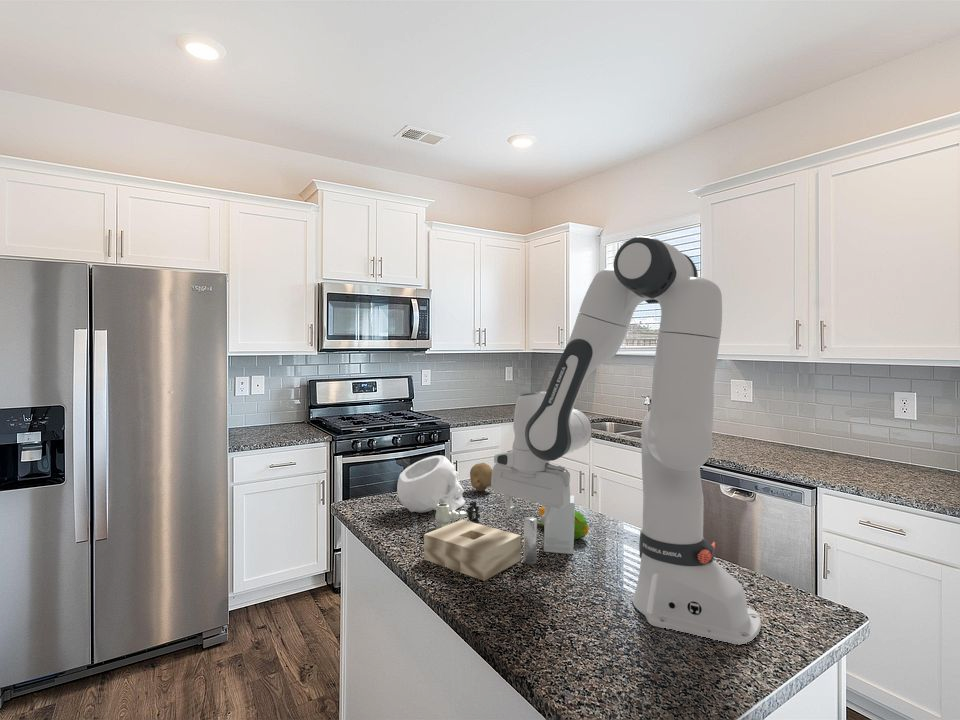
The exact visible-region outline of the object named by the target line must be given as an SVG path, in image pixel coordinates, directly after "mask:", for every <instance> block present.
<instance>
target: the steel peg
mask: <svg viewBox="0 0 960 720" xmlns="http://www.w3.org/2000/svg"><path fill="white" fill-rule="evenodd" d="M537 531H538V519H537V518H535V517H532V516H527V517H524V519H523V563H524V564H526V565H534V564H537V555H538V554H537V550H538V549H537V543H538V541H537V540H538V539H537V538H538V536H537V535H538V532H537Z"/></svg>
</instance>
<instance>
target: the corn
mask: <svg viewBox="0 0 960 720" xmlns="http://www.w3.org/2000/svg"><path fill="white" fill-rule="evenodd" d="M538 513H539V515H540V517H541V516H542V515H544V514H545V505H544V506H543V505H542V507H540V508H539V509H538ZM537 523H539V524H541V525H542V526H543V527H544V524H543V523H541V519H540V520H539V519H537ZM589 529H590V527H589V525H588V521H587V519H586V517H585V516H584V514H583V513H581V512H580V511H578V510H576V509H575V516H574V540H577V539H582V538H585V537H586V536H587V534H588V533H589Z"/></svg>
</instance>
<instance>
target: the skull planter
mask: <svg viewBox="0 0 960 720" xmlns="http://www.w3.org/2000/svg"><path fill="white" fill-rule="evenodd" d="M455 468H456V466H455V464H453V463H452V462H451V461H450V459H448V458H447V457H446V456H445V455H440V454H439V455H437V454H436V455H432V456H428V457H425V458H423V459H420V460H418V461H416V462H414V463H412V464H410V465H408V466H407V467H406V468H405V469H403V470H402V471H401V472H400V474H399V476H398V480H397V484H396V485H397V486H396V493H397V497H398V499H399V501H400V503H401V504H402V505H403V506H404V507H405V508H406V509H407V510H408V511H409V512H411V513H412V512H414V513H415V512H416V513H418V514H419V513H421V514H422V513H427V512H431V511H432V510H433V511H434V510H435V511H436V505H437V504H439V503H446V504H449V512H450V511H451V510H456V511H457V510H458V509H459V508H462V507H463V506H464V505H465V504H466V500H465V499H464V498H463V494H464V491H465V490H464V487H462V485H461V481H459V475H460V474H459V472H458V471H456V470H455Z"/></svg>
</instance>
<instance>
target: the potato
mask: <svg viewBox="0 0 960 720" xmlns="http://www.w3.org/2000/svg"><path fill="white" fill-rule="evenodd" d="M470 468H471V469H470V472H469V478H470V485H471V487H472V488H473V489H474V490H475V489H476V491H478V492H484V491H485V490H487V488H490V487H491V478H492V470H493V468H492V467H491V466H490V465H489V464H488V463H485V462H479V463H475V464H474V465H473V466H472V467H470Z"/></svg>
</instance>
